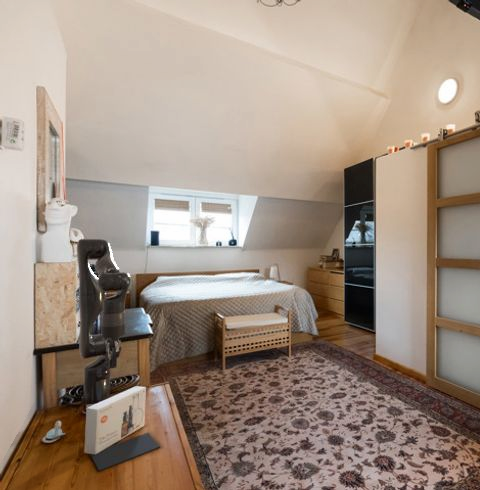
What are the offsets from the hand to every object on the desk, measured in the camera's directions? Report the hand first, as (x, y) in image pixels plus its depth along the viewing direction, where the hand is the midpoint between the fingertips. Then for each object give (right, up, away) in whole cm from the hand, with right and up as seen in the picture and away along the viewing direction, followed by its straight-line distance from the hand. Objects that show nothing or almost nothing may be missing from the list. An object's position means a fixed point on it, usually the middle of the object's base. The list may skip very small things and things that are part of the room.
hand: (112, 367), depth 137 cm
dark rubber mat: (+13, -26, -12) cm, 31 cm away
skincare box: (+5, -25, -5) cm, 26 cm away
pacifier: (-18, -25, -6) cm, 31 cm away
